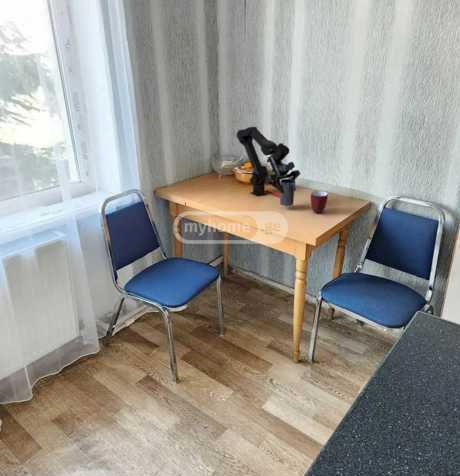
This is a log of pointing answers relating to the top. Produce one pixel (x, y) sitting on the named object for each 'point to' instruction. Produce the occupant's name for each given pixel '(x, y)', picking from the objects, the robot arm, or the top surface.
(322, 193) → the mug
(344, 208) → the top surface
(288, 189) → the grey cylindrical cup
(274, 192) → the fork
